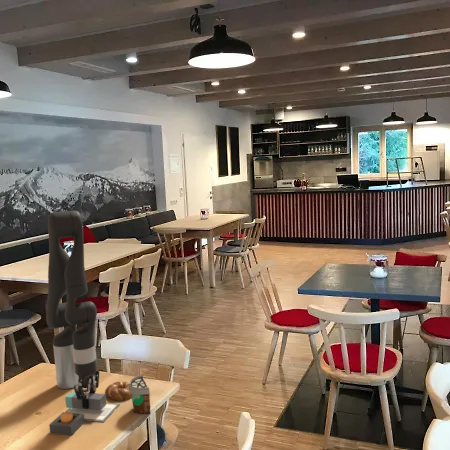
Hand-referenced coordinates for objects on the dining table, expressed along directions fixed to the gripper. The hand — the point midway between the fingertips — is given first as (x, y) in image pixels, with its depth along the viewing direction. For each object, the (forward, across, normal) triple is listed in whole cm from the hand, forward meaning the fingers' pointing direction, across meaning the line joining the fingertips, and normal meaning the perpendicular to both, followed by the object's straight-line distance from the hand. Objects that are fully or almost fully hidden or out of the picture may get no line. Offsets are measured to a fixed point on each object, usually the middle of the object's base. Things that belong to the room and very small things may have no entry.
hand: (89, 405), depth 172 cm
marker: (+1, 0, +1) cm, 1 cm away
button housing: (+2, -11, +2) cm, 11 cm away
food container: (+3, +4, -17) cm, 18 cm away
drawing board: (+2, 0, 0) cm, 2 cm away
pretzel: (+3, +14, -5) cm, 15 cm away
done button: (0, -11, +2) cm, 11 cm away
